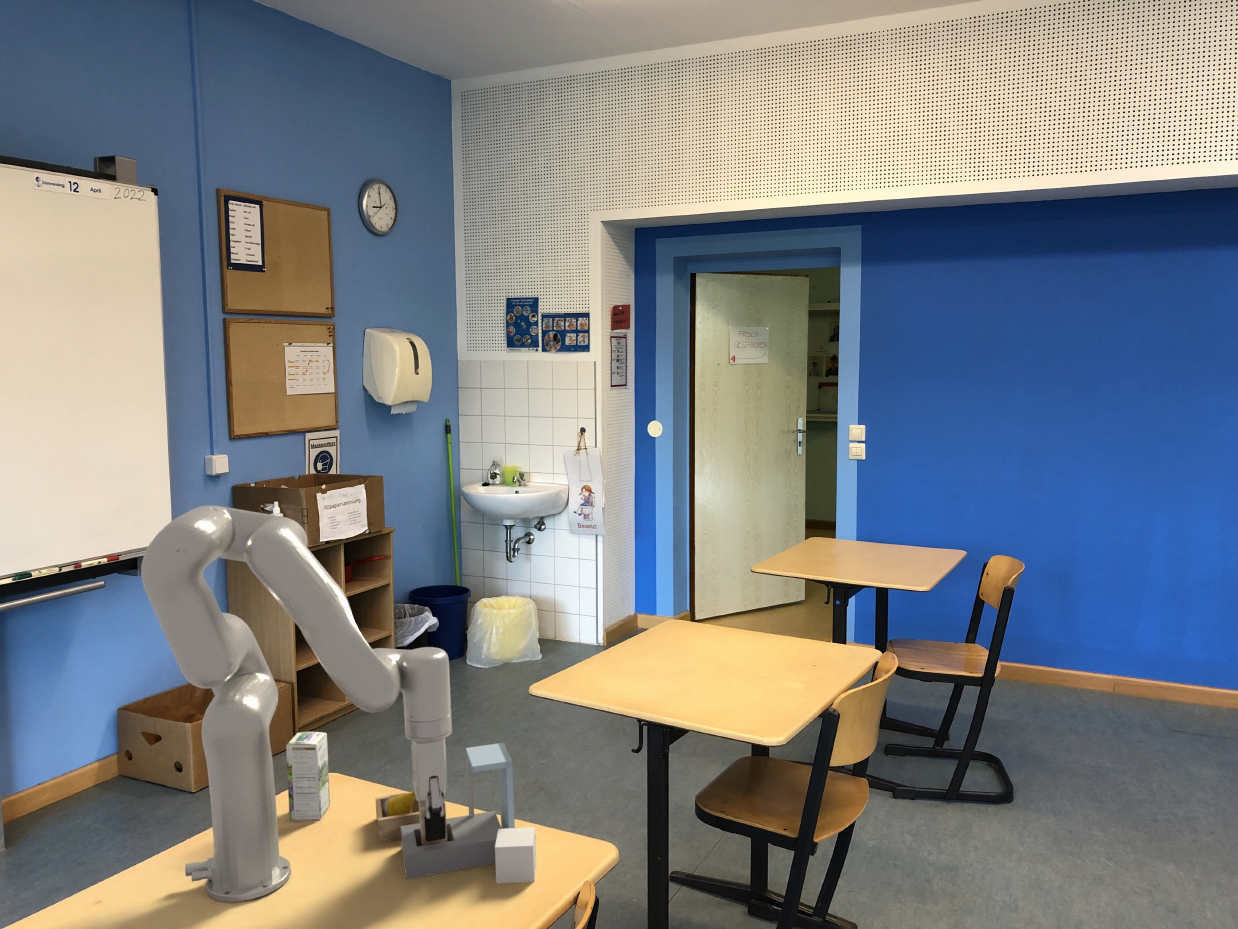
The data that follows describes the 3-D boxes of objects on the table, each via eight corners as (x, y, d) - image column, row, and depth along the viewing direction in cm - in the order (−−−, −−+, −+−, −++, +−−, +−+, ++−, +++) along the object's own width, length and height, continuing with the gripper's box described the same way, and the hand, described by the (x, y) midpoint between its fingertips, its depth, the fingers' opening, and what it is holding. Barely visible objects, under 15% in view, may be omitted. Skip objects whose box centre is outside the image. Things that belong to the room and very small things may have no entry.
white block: (499, 863, 154) (498, 828, 153) (536, 862, 154) (535, 827, 154) (496, 883, 148) (494, 847, 147) (534, 882, 148) (533, 845, 148)
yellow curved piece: (404, 813, 172) (433, 786, 167) (396, 838, 167) (425, 811, 163) (379, 800, 170) (407, 772, 166) (370, 825, 166) (399, 796, 161)
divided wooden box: (379, 842, 162) (377, 820, 161) (376, 818, 170) (375, 797, 170) (432, 833, 164) (431, 811, 164) (427, 810, 173) (426, 789, 172)
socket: (406, 879, 150) (405, 855, 149) (401, 848, 159) (400, 826, 159) (506, 861, 154) (505, 838, 154) (495, 832, 164) (494, 810, 164)
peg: (423, 866, 154) (420, 808, 152) (421, 854, 157) (418, 797, 156) (448, 861, 155) (445, 803, 154) (445, 849, 159) (442, 793, 157)
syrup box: (300, 806, 176) (295, 731, 174) (331, 805, 176) (327, 731, 174) (289, 821, 170) (284, 744, 169) (321, 820, 170) (317, 743, 169)
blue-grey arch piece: (476, 860, 155) (472, 766, 153) (469, 837, 163) (465, 748, 161) (515, 853, 157) (512, 760, 155) (507, 830, 165) (503, 742, 163)
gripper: (400, 709, 161) (406, 810, 163) (409, 748, 144) (414, 859, 146) (445, 704, 163) (450, 803, 165) (458, 741, 146) (463, 851, 148)
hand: (433, 829), depth 155 cm, fingers open, 6 cm apart
